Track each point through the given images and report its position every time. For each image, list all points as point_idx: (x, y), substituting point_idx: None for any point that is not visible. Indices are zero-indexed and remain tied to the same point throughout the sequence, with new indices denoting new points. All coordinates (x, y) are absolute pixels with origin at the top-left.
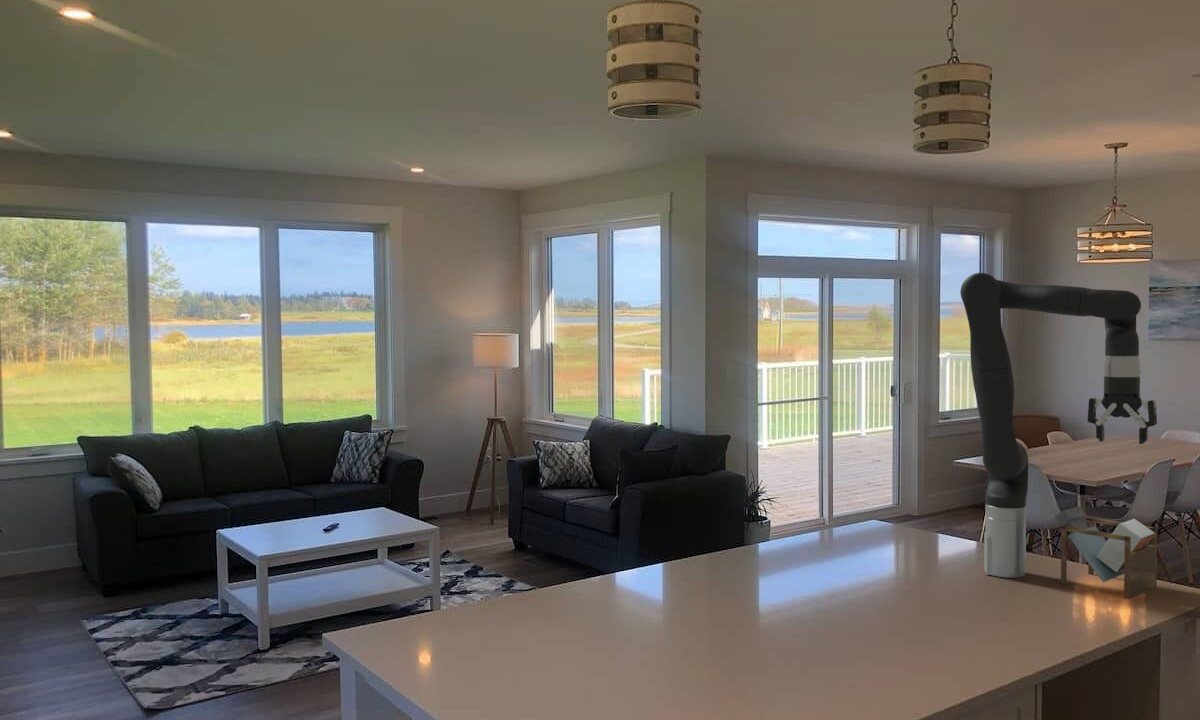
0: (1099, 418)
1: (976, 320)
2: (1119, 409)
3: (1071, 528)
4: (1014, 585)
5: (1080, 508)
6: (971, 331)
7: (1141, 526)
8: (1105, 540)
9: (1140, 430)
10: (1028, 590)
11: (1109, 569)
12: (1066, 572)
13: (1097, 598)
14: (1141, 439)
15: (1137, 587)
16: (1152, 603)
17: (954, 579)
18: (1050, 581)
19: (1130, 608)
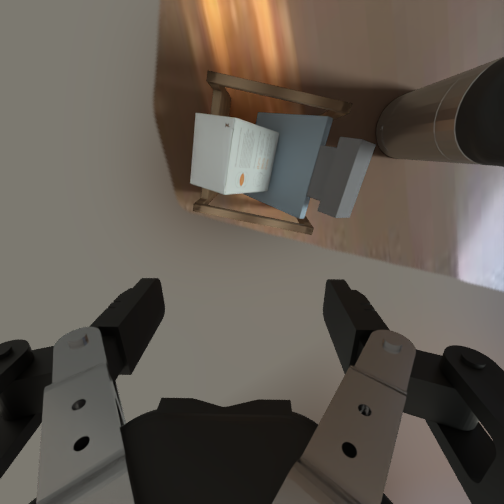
0: (406, 378)
1: None
2: (226, 500)
3: (329, 98)
4: (384, 55)
5: (332, 211)
6: None
7: (207, 173)
8: (279, 207)
9: (117, 317)
10: (360, 37)
11: None
12: None
13: (261, 66)
14: (138, 287)
15: None
16: (194, 94)
17: (486, 20)
18: (337, 125)
19: (209, 37)
